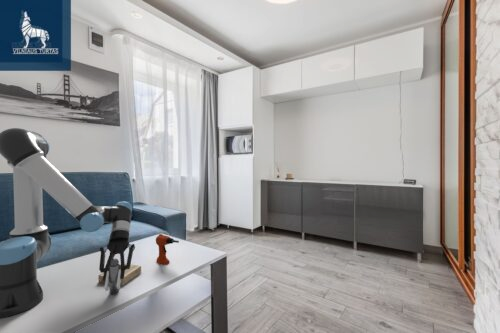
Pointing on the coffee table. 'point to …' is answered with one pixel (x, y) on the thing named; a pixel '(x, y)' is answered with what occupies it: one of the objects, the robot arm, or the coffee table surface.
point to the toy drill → (163, 248)
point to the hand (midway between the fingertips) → (112, 288)
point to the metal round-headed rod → (113, 276)
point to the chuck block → (126, 274)
